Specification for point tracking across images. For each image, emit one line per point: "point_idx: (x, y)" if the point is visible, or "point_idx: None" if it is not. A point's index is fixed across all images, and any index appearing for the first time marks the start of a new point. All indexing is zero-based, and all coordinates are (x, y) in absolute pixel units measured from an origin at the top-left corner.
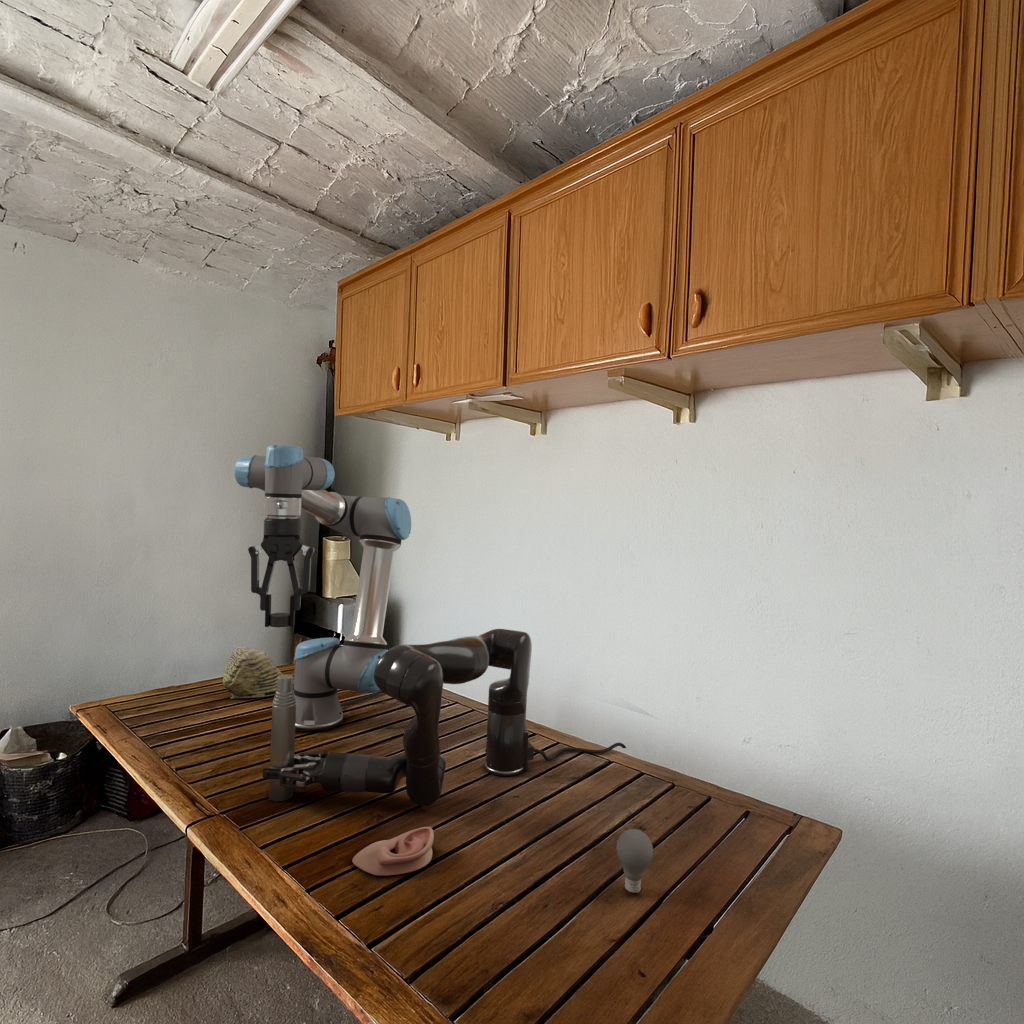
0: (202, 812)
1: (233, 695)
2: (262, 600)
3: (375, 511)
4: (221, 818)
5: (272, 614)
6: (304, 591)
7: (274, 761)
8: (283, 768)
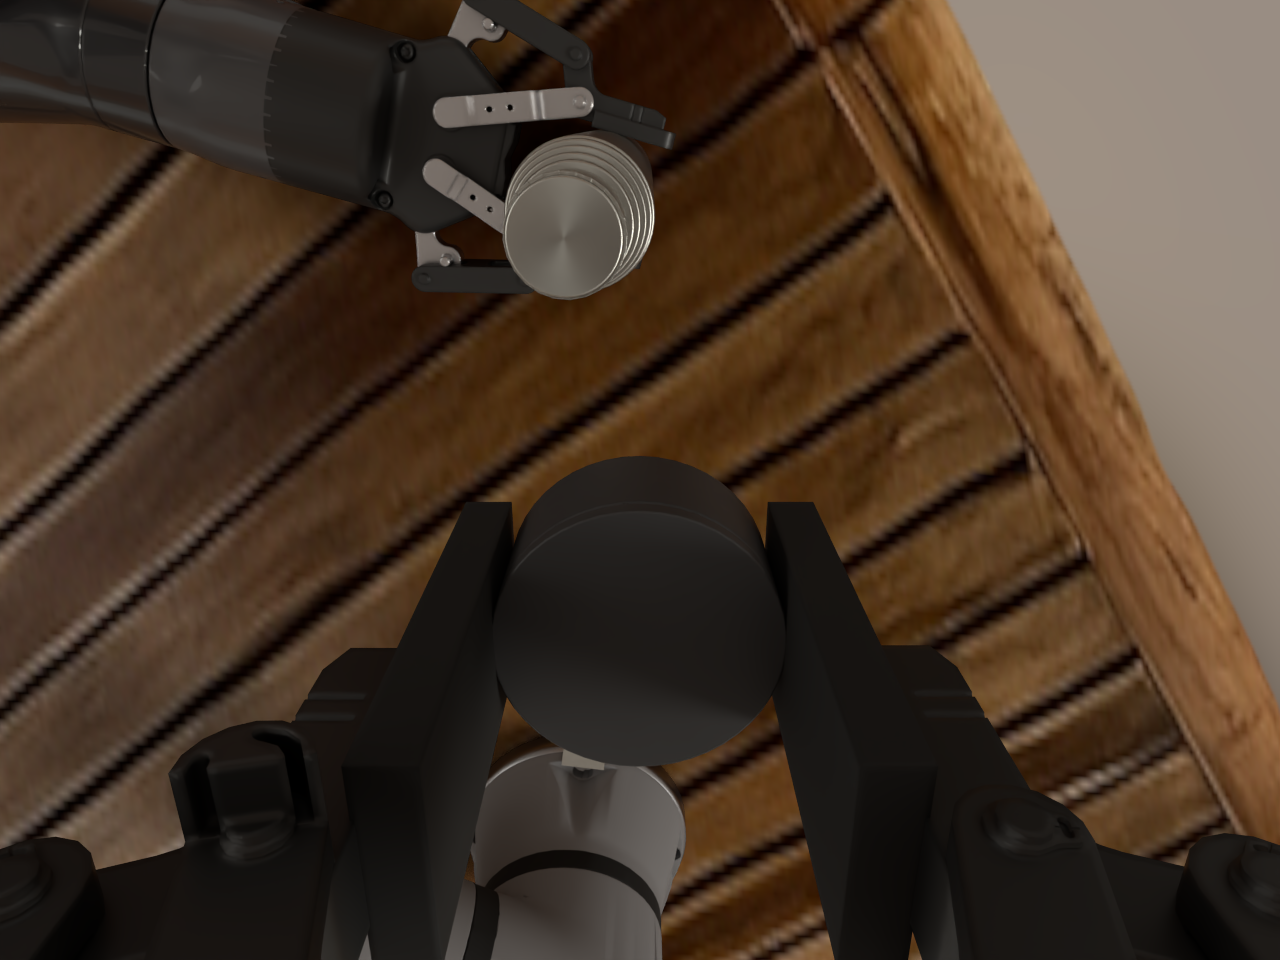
0: (882, 68)
1: None
2: (967, 753)
3: None
4: (804, 3)
5: (749, 654)
6: (58, 872)
7: (626, 139)
8: (580, 102)
